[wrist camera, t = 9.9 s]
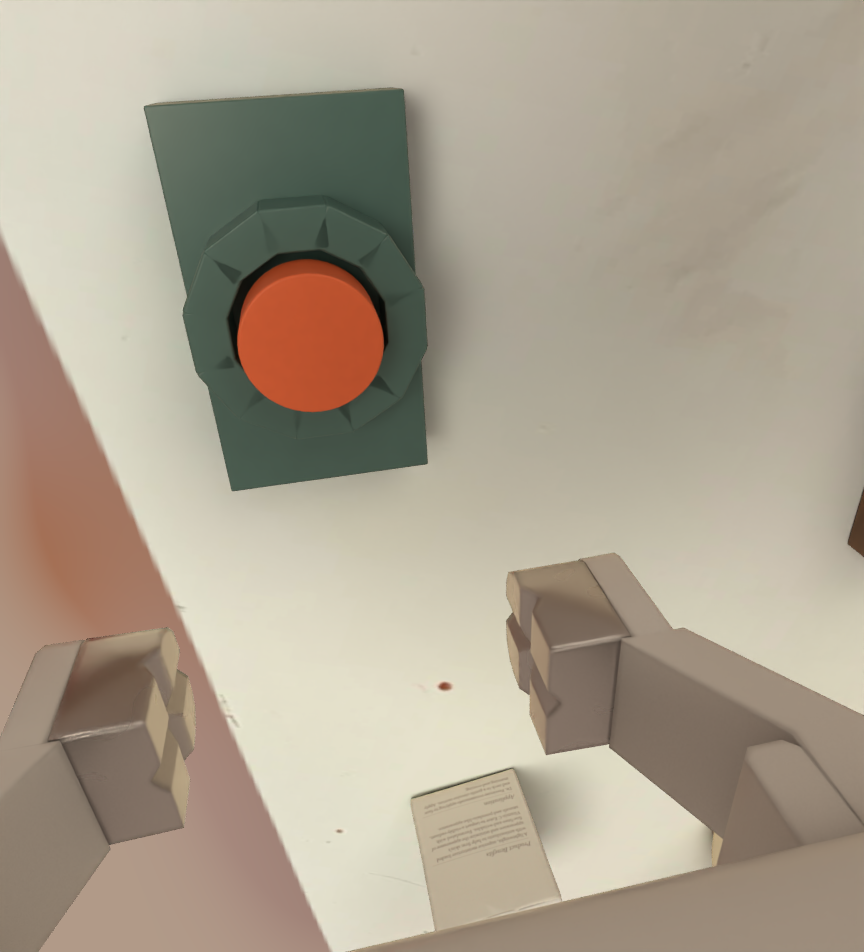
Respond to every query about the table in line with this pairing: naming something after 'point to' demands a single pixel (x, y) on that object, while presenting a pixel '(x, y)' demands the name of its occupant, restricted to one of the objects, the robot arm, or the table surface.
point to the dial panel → (858, 530)
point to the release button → (309, 336)
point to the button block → (292, 238)
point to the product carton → (481, 852)
